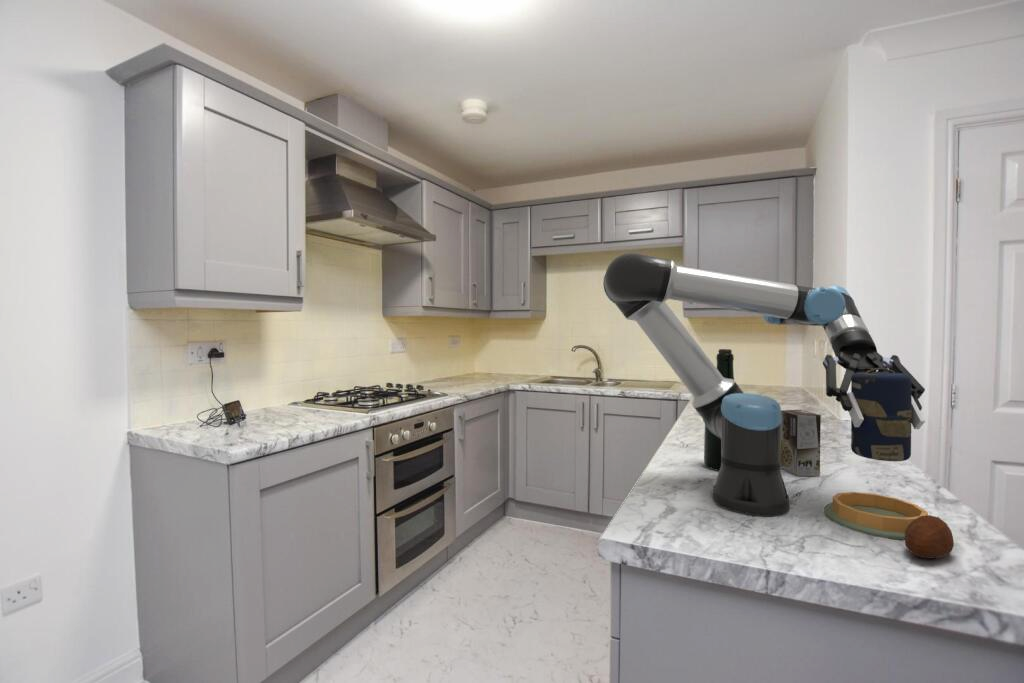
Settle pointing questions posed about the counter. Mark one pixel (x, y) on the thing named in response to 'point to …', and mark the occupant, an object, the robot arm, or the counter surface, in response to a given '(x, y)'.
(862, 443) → the canister
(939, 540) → the potato
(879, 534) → the green orange round dish
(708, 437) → the dark wine bottle
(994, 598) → the counter surface
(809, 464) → the coffee box
